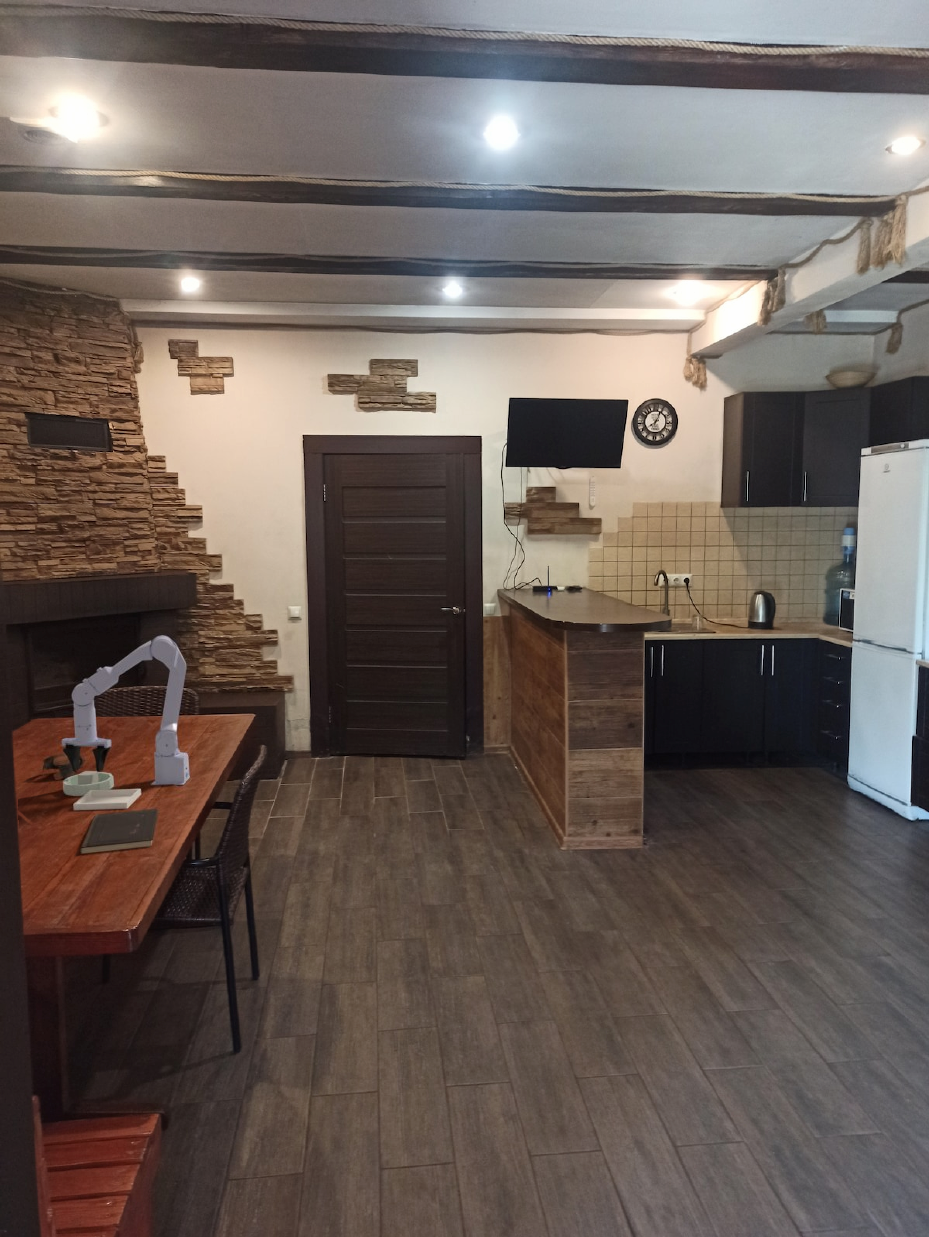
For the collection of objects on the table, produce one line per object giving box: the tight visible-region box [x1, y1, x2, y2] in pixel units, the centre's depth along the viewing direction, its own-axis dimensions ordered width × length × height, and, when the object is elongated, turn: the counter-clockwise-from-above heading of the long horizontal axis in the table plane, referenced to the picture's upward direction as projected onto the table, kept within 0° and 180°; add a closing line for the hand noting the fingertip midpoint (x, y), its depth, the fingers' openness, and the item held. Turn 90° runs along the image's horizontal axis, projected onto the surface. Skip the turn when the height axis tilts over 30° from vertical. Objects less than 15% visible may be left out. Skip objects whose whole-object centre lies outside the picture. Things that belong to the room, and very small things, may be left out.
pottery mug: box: [42, 752, 86, 781], centre depth 252 cm, size 12×10×8 cm
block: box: [77, 770, 99, 785], centre depth 237 cm, size 4×4×5 cm
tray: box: [73, 788, 142, 811], centre depth 225 cm, size 14×12×2 cm
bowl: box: [62, 771, 115, 797], centre depth 237 cm, size 13×13×4 cm
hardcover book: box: [79, 808, 160, 855], centre depth 203 cm, size 16×23×2 cm
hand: (88, 770), depth 236 cm, fingers open, 7 cm apart
